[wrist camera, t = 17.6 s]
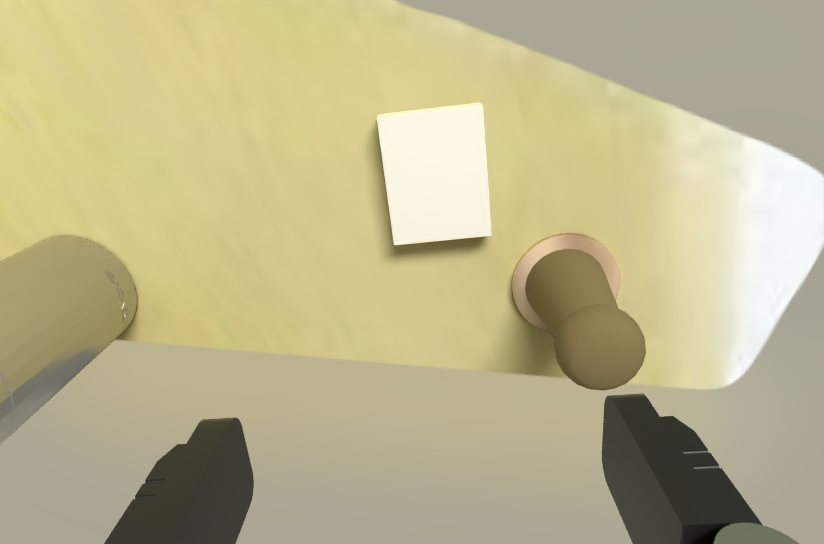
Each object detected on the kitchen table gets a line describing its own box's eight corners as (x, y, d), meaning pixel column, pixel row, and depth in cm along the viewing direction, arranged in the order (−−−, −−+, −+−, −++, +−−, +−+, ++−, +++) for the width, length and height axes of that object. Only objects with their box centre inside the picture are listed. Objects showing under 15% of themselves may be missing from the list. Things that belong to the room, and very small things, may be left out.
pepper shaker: (588, 329, 43) (636, 416, 33) (514, 311, 43) (539, 393, 33) (618, 259, 41) (679, 329, 31) (540, 239, 41) (576, 304, 31)
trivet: (514, 333, 44) (515, 336, 44) (509, 238, 42) (510, 241, 41) (616, 325, 44) (618, 328, 43) (619, 228, 41) (621, 231, 40)
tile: (394, 245, 40) (376, 117, 37) (395, 235, 42) (379, 113, 39) (491, 235, 40) (482, 105, 36) (488, 226, 42) (480, 101, 38)
